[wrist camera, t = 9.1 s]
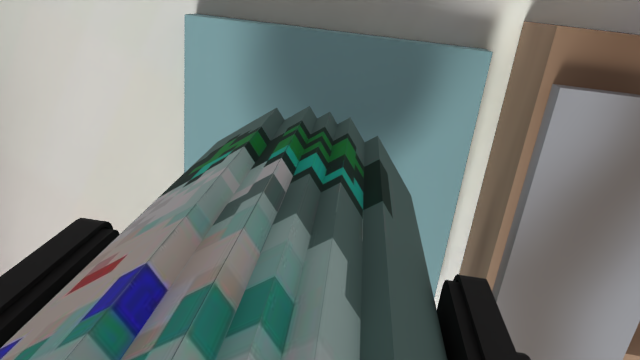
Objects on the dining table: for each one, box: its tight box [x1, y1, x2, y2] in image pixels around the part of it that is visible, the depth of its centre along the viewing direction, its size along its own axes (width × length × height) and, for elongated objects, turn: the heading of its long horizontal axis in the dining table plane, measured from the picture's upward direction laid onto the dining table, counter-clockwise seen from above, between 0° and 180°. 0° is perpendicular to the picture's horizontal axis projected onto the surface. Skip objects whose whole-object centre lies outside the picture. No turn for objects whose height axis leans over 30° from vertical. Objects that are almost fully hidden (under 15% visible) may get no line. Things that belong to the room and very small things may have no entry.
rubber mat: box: [184, 14, 493, 297], centre depth 17 cm, size 10×10×1 cm
